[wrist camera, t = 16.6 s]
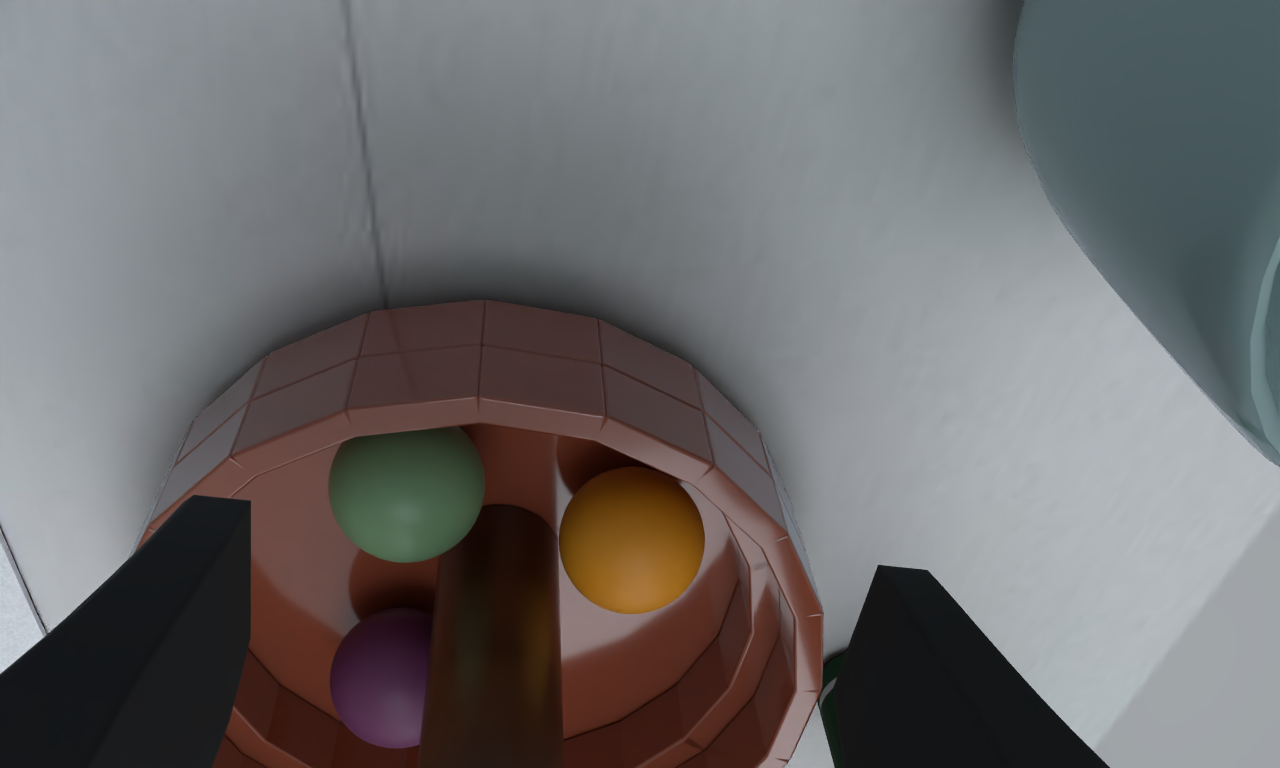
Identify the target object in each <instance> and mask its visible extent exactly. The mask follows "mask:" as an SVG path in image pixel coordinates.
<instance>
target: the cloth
mask: <svg viewBox="0 0 1280 768" xmlns="http://www.w3.org/2000/svg"><path fill="white" fill-rule="evenodd" d="M46 635H47V634H46V632H45V630H44V628H43V626H42V623H41V621H40V619H39V617H38V615H37V613H36V610H35V608H34V606H33V604H32V601H31V599H30V597H29V594H28V592H27V590H26V587H25V585H24V583H23V580H22V578H21V576H20V574H19V571H18V569H17V567H16V564H15V562H14V560H13V557H12V555H11V553H10V550H9V548H8V546H7V543H6V541H5V539H4V536H3V534H2V532H1V529H0V674H1V673H2V672H3V671H4V670H5V669H7V668H8V667H9V666H10V665H11V664H13V663H14V662H15V661H16V660H17V659H19V658H20V657H21V656H22V655H23V654H25V653H26V652H27V651H28V650H29V649H30V648H32V647H33V646H34V645H35V644H36V643H38V642H39V641H40V640H41V639H42V638H44V637H45V636H46Z"/></svg>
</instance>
